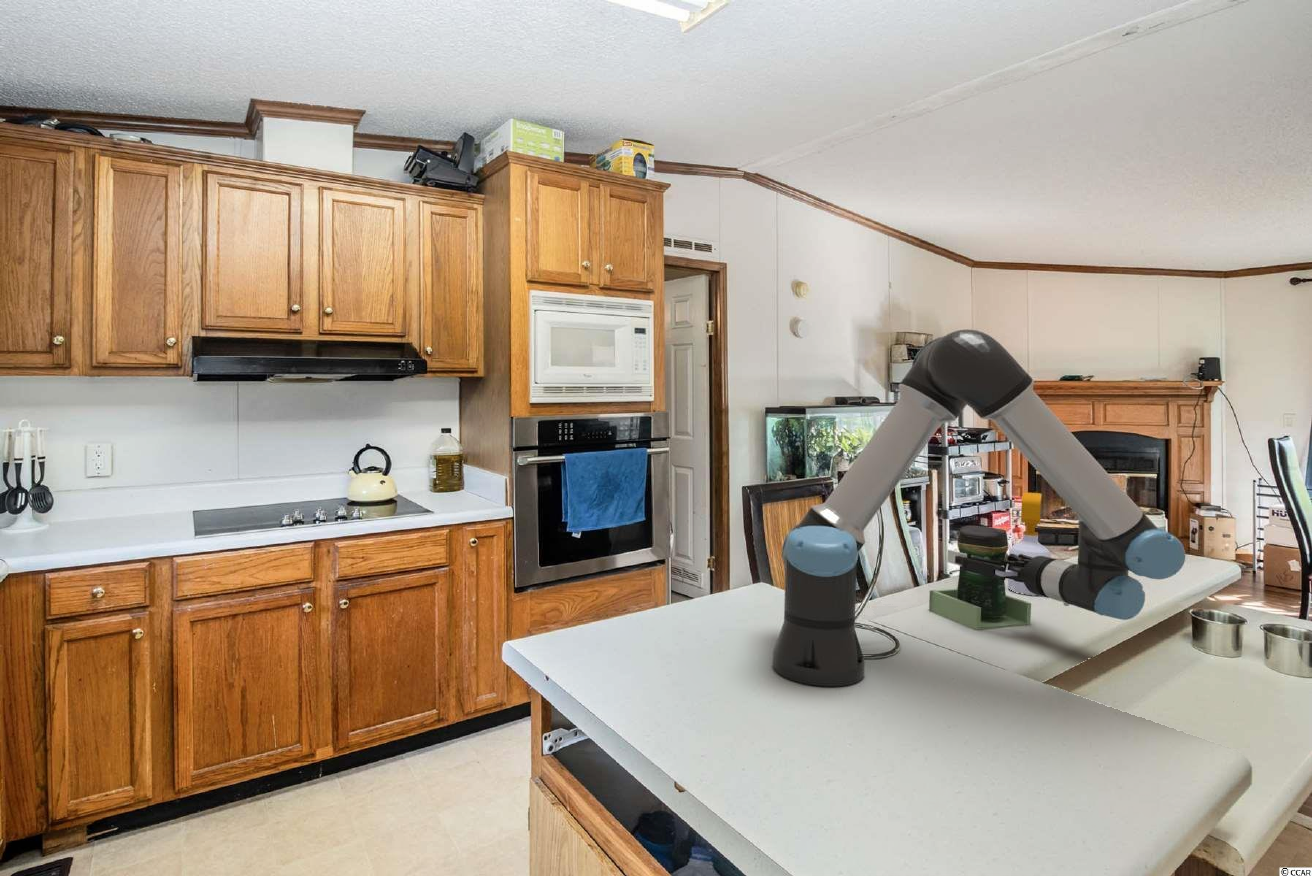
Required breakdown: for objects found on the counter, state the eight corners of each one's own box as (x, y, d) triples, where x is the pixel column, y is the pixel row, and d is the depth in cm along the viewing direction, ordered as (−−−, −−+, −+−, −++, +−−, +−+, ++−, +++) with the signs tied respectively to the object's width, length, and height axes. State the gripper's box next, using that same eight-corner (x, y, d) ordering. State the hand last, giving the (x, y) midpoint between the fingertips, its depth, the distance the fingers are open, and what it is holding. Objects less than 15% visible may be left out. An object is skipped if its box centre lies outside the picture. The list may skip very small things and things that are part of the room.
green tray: (976, 629, 140) (977, 608, 139) (929, 610, 153) (929, 590, 153) (1030, 624, 144) (1031, 603, 144) (979, 606, 157) (980, 586, 157)
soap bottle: (1049, 590, 173) (1053, 493, 172) (1048, 598, 165) (1052, 496, 164) (1009, 585, 177) (1013, 490, 176) (1006, 592, 170) (1010, 493, 169)
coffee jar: (1010, 613, 147) (1014, 527, 146) (997, 621, 142) (1000, 531, 141) (964, 604, 154) (967, 521, 153) (950, 610, 148) (953, 525, 148)
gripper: (1008, 602, 127) (925, 574, 149) (1095, 594, 134) (1004, 568, 155) (1010, 562, 127) (926, 539, 148) (1097, 556, 133) (1005, 535, 155)
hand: (966, 554), depth 152 cm, fingers closed on coffee jar, 9 cm apart
